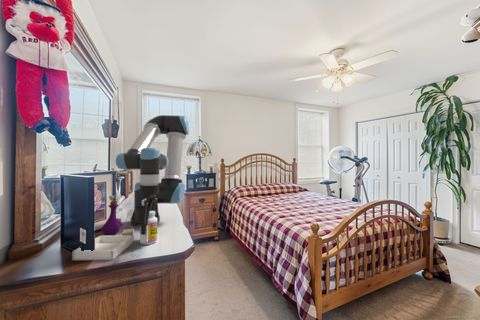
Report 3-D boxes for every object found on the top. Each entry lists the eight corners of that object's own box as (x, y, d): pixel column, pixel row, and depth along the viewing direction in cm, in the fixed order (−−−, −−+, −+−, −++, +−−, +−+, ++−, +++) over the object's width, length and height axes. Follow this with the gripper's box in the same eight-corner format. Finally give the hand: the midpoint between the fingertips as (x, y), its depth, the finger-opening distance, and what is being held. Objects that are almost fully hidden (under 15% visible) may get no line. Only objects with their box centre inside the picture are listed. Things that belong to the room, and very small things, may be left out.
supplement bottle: (150, 246, 84) (151, 214, 85) (136, 244, 86) (136, 213, 86) (160, 240, 91) (160, 210, 91) (146, 238, 92) (147, 209, 92)
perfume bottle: (106, 231, 101) (106, 194, 101) (123, 230, 103) (123, 194, 103) (99, 237, 94) (100, 197, 94) (118, 235, 96) (119, 196, 96)
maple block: (123, 238, 92) (123, 229, 92) (133, 238, 93) (133, 229, 93) (121, 242, 88) (121, 232, 88) (132, 241, 90) (132, 231, 90)
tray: (100, 242, 87) (100, 235, 87) (133, 242, 88) (133, 235, 88) (72, 260, 72) (72, 251, 72) (113, 259, 72) (113, 251, 72)
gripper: (150, 181, 99) (149, 229, 99) (128, 187, 78) (127, 248, 77) (166, 182, 100) (165, 229, 99) (148, 187, 78) (147, 247, 78)
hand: (148, 237), depth 88 cm, fingers open, 9 cm apart
